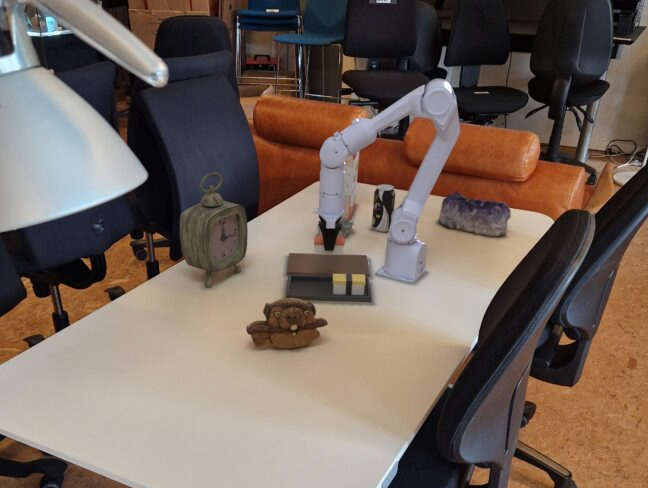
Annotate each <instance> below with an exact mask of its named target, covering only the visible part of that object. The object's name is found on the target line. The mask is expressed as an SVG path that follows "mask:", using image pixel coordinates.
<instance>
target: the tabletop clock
mask: <svg viewBox="0 0 648 488" xmlns="http://www.w3.org/2000/svg"><path fill="white" fill-rule="evenodd" d="M213 176H217V178H219V183H218V185H216V186H214V185H212V184H211V185H209V187H208V189H204V188H203V185H204V183H205V181H206V180H207V179H208V178H210V177H213ZM222 183H223V177H222V175H221V174H220V173H219V172H210V173H207V174H206V175H205V176H204V177H203V178H202V179H201V182H200V185H199V186H200V190H201V192H203V193H205V194H204V195H203V196H202V198H201V200H200V203H198V204H194V205H193V206H191V207H189V208H187V209H185V210H184V211H182V212H181V213H180V218H179V236H180V237H179V240H180V247H181V248H180V249H181V254H182V256H183V258H184V261H185V263H186V264H187V265H188V266H189V267H192V268H196V269H199V270H202V271H204V273H205V275H206V280H205V281H204V285H205V287H206V288H210V287H211V286H212V285H213V284H212V281H211V280H210V276H212V274H217V273H220V272H224V271H226V270H229V269H230V268H232V267H234V272H235V273H241V272H242V267H241V266H239V265H238V264H239V263H240V262H242V261H243V260H244V258H245V257H246V255H247V250H248V232H249V231H248V230H249V229H248V218H247V212H246V209H245V206H244V205H240V204H237V203H233V202H229V201H226V200H224V199H223V197H222V196H221V194H219V193H217V192H216V191H218V189H220V187H221V186H222Z"/></svg>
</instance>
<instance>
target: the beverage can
mask: <svg viewBox="0 0 648 488" xmlns="http://www.w3.org/2000/svg"><path fill="white" fill-rule="evenodd" d="M394 188H395V186H393V185H392V184H385V183H384V184H377V186H376V189H375V190H374V192H373V193H374V194H373V205H372V217H371V228H372V229H374V231H376V232H379V233H380V232H381V233H385V232H388V231H389V228H390V225H391V215H392V213H393V211H394V210H395V203H396V191H395V189H394Z"/></svg>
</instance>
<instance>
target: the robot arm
mask: <svg viewBox="0 0 648 488" xmlns="http://www.w3.org/2000/svg"><path fill="white" fill-rule="evenodd" d="M458 109H459V108H458V103H457V96H456V94H455V92H454V89H453V87H452V85H451V84H450V83H449V81H447V80H446V79H443V78H434V79H432V80H430V81H429V82H427V84H426V85H425V84H423V85H421V86H418V87H417V88H415V89H413V90H412V91H410V92H408V93H407V94H406V95H404V96H403V97H401V98H400V99H398V100H397V101H396V102H394V103H393V104H391V105H390V106H388V107H387V108H385V109H384V110H382V111H381V112H379V113H378V114H377V115H375V116H374V117H372V118H367V117H360V118H359V119H358V118H357V117H356V118H354V119H353V120H352V121H351V124H350V125H349V126H347V127H346V128H344V129H342V130H341V131H338V130H337V131H336V132H334V133H333V136H330V137H328V138H326V139H325V140H324V141H323V143H322V146H321V148H320V151H319V159H320V172H319V189H318V191H319V193H318V194H319V195H318V207H315V208H313V214H317V215H318V218H319V220H318V223H317V224H318V225H319V228H320V230H321V233H322V236H323V243H324V249H325V251H333V250H334V247H335V243H336V239H337V236H338V233H339V231H340V230H341V228H342V223H339V221H340V220H341V218H342V215H343V212H344V210H343V197H344V179H345V172H344V160H345V157H347V156H352V155H354V154H355V153H357V152H358V151H359V152H360V151H362V150H363V149H365V148H366V147H368V146H370V145H371V144H373V143H374V142H376V141H377V137H378V133H380V132H382V131H383V130H385V129H386V128H388V127H390V126H392V125H393V124H395V123H397V122H399V121H401V120H402V119H404V118H406V117H408V116H418V117H422V116H423V113H425V114H426V115H427V116H428V118H429V119H430V120H432V123H433V126H434V129H435V130H436V132H435V135H434V137H433V139H432V141H431V142H430V145H429V147H428V149H427V152H426V153H425V155H424V158H423V159H422V161H421V164H420V166H419V168H418V170H417V172H416V174H415V176H414V178H413V181H412V182H411V185H410V186H409V188H408V191H407V194H406V195H405V196H404V197H403V199H402V201H401V203H400V204H399V205H398V206H397V207H396V208H394V211H393V213H392V215H391V225H390V228H389V232H388V234H387V235H386V245H385V256H384V267H383V268H382V269H380V270H378V271H377V275H380V276H385V277H388V278H391V279H392V278H393V279H396V280H400V281H404V282H407V283H414V282H416V280H418V279H420V278H421V276H422V275H424V274H425V273H426V261H427V254H428V246H427V244H426V243H424V242H422V241H420V240H419V239H418V237H419V236H418V235H417V232H418V223H419V220H420V219H421V215H422V213H423V210H424V206H425V205H426V202H427V200H428V198H429V197H430V194H431V192H432V190H433V189H434V187H435V184H436V182H437V181H438V178H439V176H440V174H441V172H442V171H443V168H444V167H445V165H446V162H447V161H448V159H449V157H450V154H451V153H452V150H453V149H454V147H455V145H456V142H457V141H458V139H459V136H460V134H461V126H460V125H461V124H460V117H459V111H458ZM423 111H424V112H423Z"/></svg>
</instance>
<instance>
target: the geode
mask: <svg viewBox="0 0 648 488" xmlns="http://www.w3.org/2000/svg"><path fill="white" fill-rule="evenodd" d="M511 213H512V212H511V209H510V208H509V206H508V204H507V202H506V201H495V200H491V199H490V200H484V199H482V198H475V197H474V198H471V199H469V200H468V198H467V196H465V195H461V194H460V192H459V191H458V190H455V191H454V192H453V193H452V194H451V193H450V194H448V195H447V196H446V197H444V198H443V200H442V201H441V206H440V210H439V217H438V220H437V222H438V223H439V224H440V225H441V226H443V227H445V228H448V229H454V230H460V231H464V232H469V233H475V234H476V235H482V236H483V235H486V236H491V237H492V236H493V237H505V236H506V235H507V233H508V232H507V231H508V228H507V227H508V221H509V219H511V217H512V214H511Z"/></svg>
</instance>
